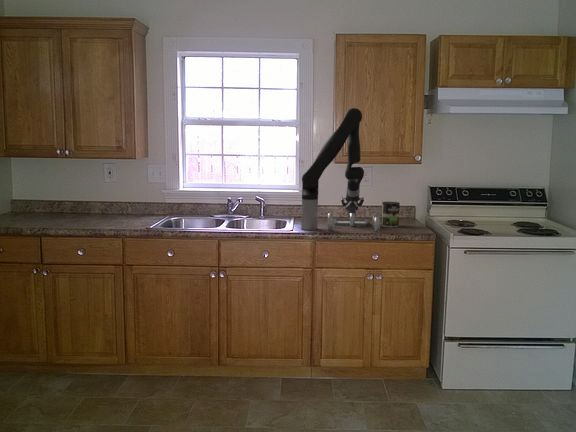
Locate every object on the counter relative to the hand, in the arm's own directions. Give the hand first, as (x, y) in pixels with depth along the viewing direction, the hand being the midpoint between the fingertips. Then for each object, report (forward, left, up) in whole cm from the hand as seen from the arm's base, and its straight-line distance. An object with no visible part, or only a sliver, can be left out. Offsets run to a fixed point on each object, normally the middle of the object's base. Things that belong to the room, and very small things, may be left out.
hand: (351, 209), depth 335 cm
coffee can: (+23, -8, -9) cm, 26 cm away
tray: (0, -2, -9) cm, 9 cm away
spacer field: (0, -21, -9) cm, 23 cm away
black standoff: (0, -2, -5) cm, 5 cm away
